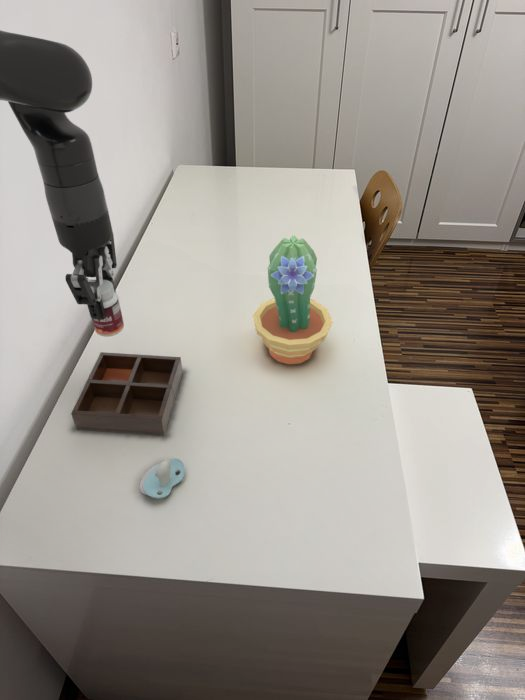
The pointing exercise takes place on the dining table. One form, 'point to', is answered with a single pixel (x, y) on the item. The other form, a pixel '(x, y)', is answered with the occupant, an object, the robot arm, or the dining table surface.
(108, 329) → the pill bottle
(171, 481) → the pacifier
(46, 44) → the robot arm
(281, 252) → the potted cactus
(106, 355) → the grid
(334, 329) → the dining table surface
